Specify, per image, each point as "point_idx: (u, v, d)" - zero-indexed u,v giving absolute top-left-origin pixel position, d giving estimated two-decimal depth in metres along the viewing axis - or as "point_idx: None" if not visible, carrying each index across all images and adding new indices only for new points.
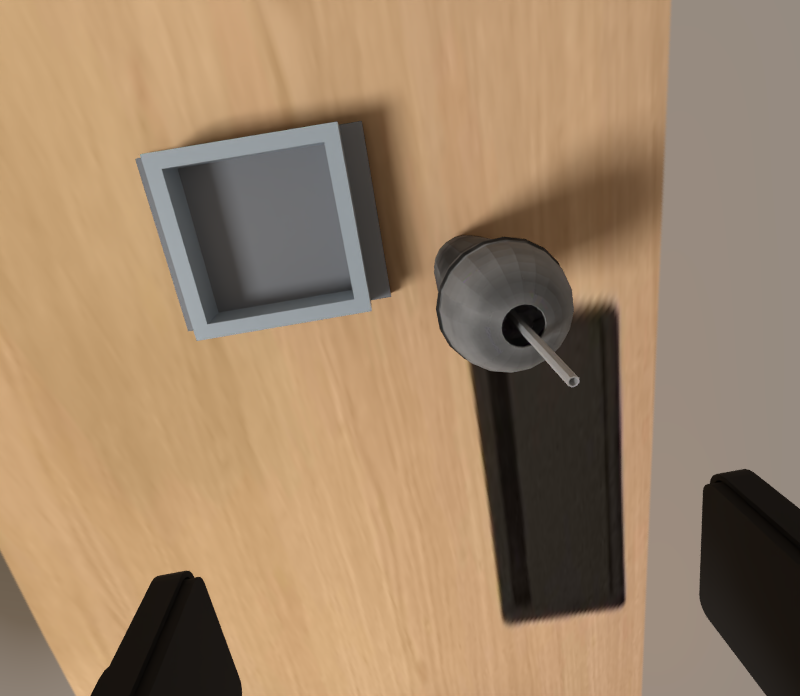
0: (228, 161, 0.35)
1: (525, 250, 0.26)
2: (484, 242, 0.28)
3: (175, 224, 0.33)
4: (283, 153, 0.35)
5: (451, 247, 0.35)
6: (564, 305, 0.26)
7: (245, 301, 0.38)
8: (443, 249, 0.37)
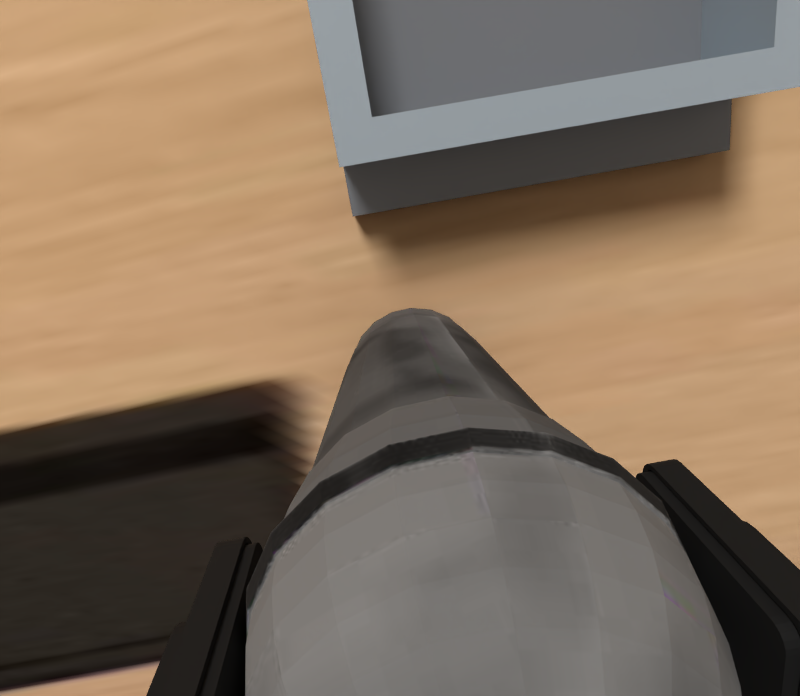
0: None
1: None
2: None
3: None
4: None
5: (499, 365, 0.15)
6: None
7: None
8: (469, 335, 0.17)
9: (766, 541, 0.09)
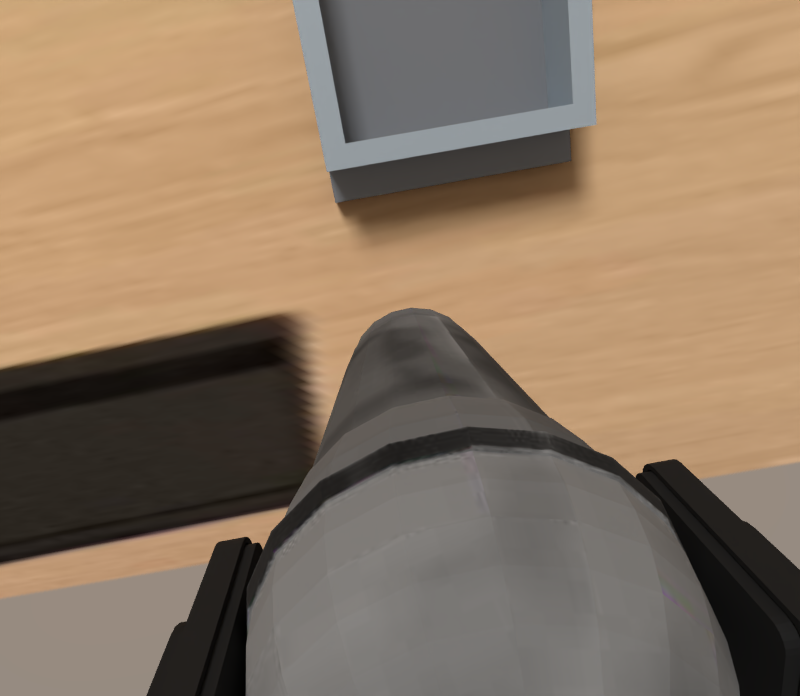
0: None
1: None
2: None
3: None
4: (540, 42, 0.25)
5: (499, 365, 0.15)
6: None
7: None
8: None
9: (766, 541, 0.09)
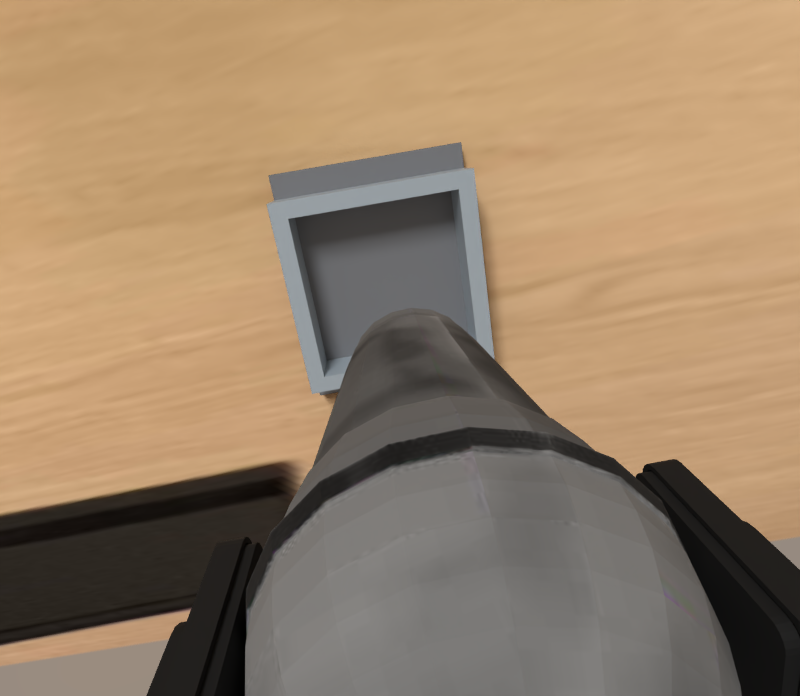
0: (455, 240, 0.35)
1: None
2: None
3: (402, 196, 0.31)
4: (461, 294, 0.36)
5: (499, 365, 0.15)
6: None
7: (308, 245, 0.34)
8: None
9: (766, 541, 0.09)
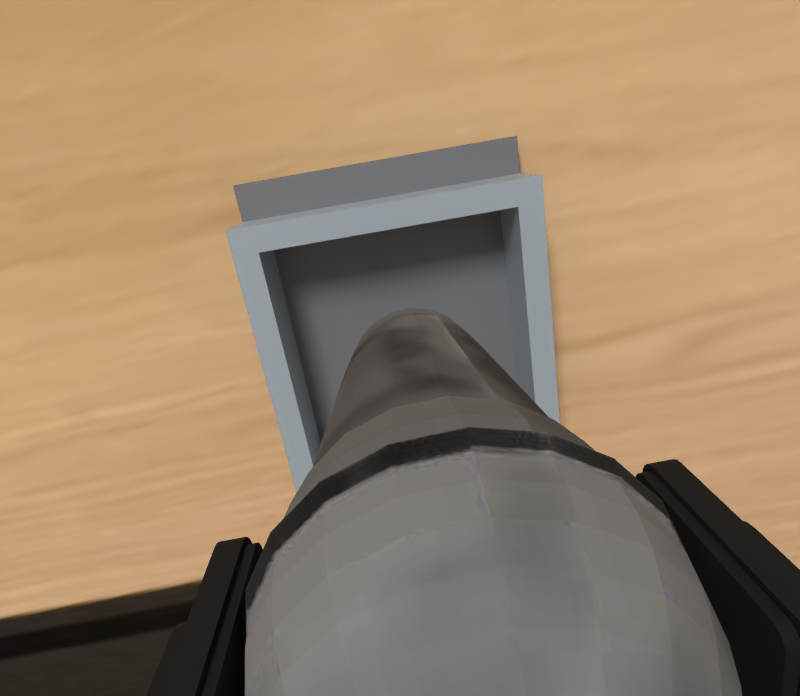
0: (504, 277, 0.24)
1: None
2: None
3: (431, 217, 0.20)
4: (510, 352, 0.25)
5: (499, 365, 0.15)
6: None
7: (293, 286, 0.24)
8: (469, 334, 0.17)
9: (766, 541, 0.09)
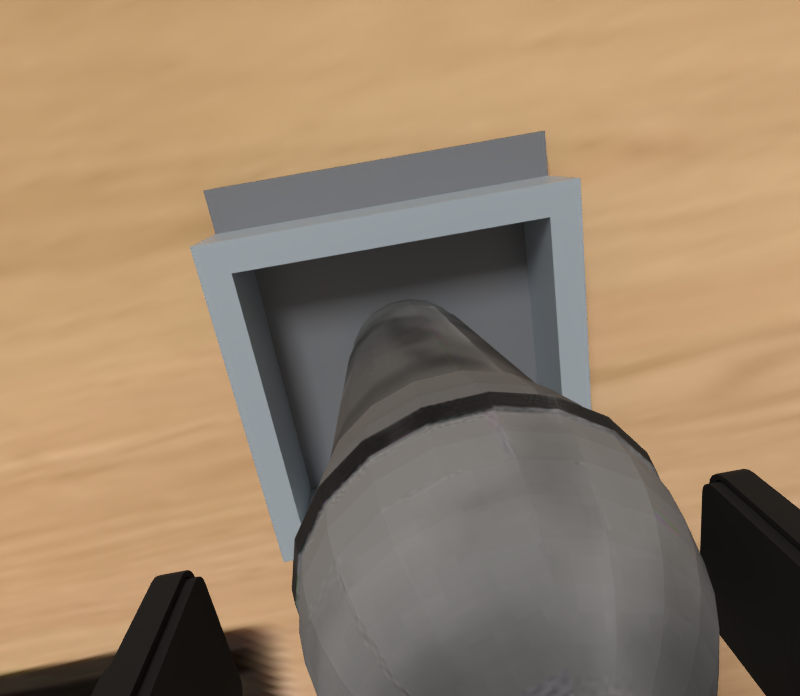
0: (527, 298, 0.20)
1: None
2: None
3: (444, 230, 0.16)
4: None
5: None
6: None
7: (277, 309, 0.20)
8: None
9: None
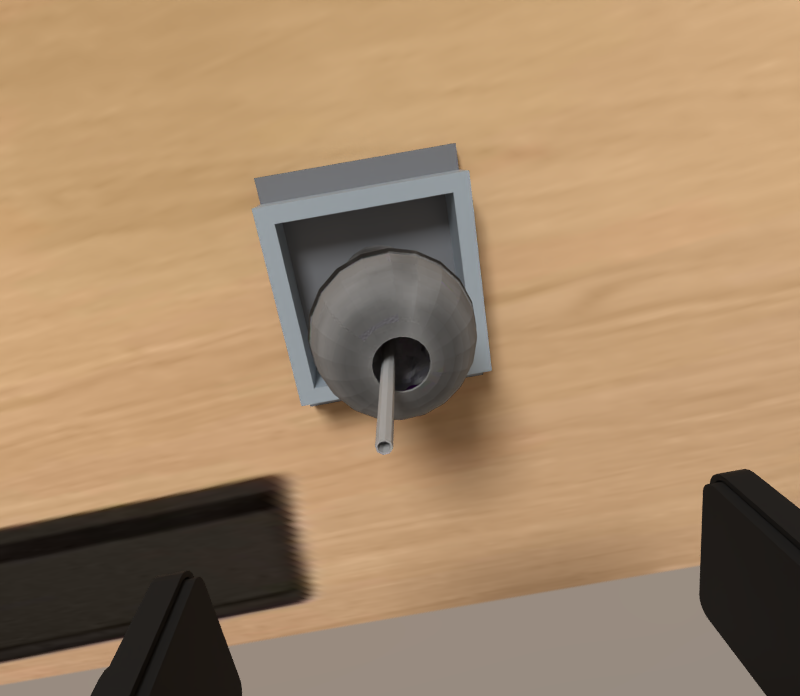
0: (450, 245, 0.33)
1: (474, 354, 0.22)
2: (472, 304, 0.23)
3: (393, 199, 0.29)
4: None
5: None
6: (419, 409, 0.21)
7: (296, 251, 0.33)
8: None
9: None
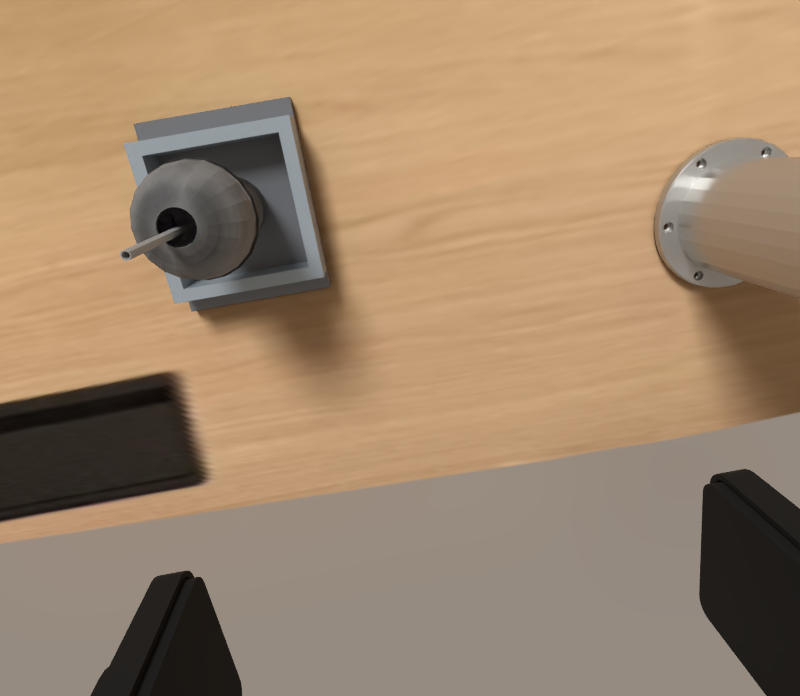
0: None
1: (246, 231, 0.31)
2: (252, 199, 0.32)
3: (232, 137, 0.38)
4: None
5: (251, 186, 0.38)
6: (200, 265, 0.30)
7: None
8: (250, 183, 0.40)
9: None
